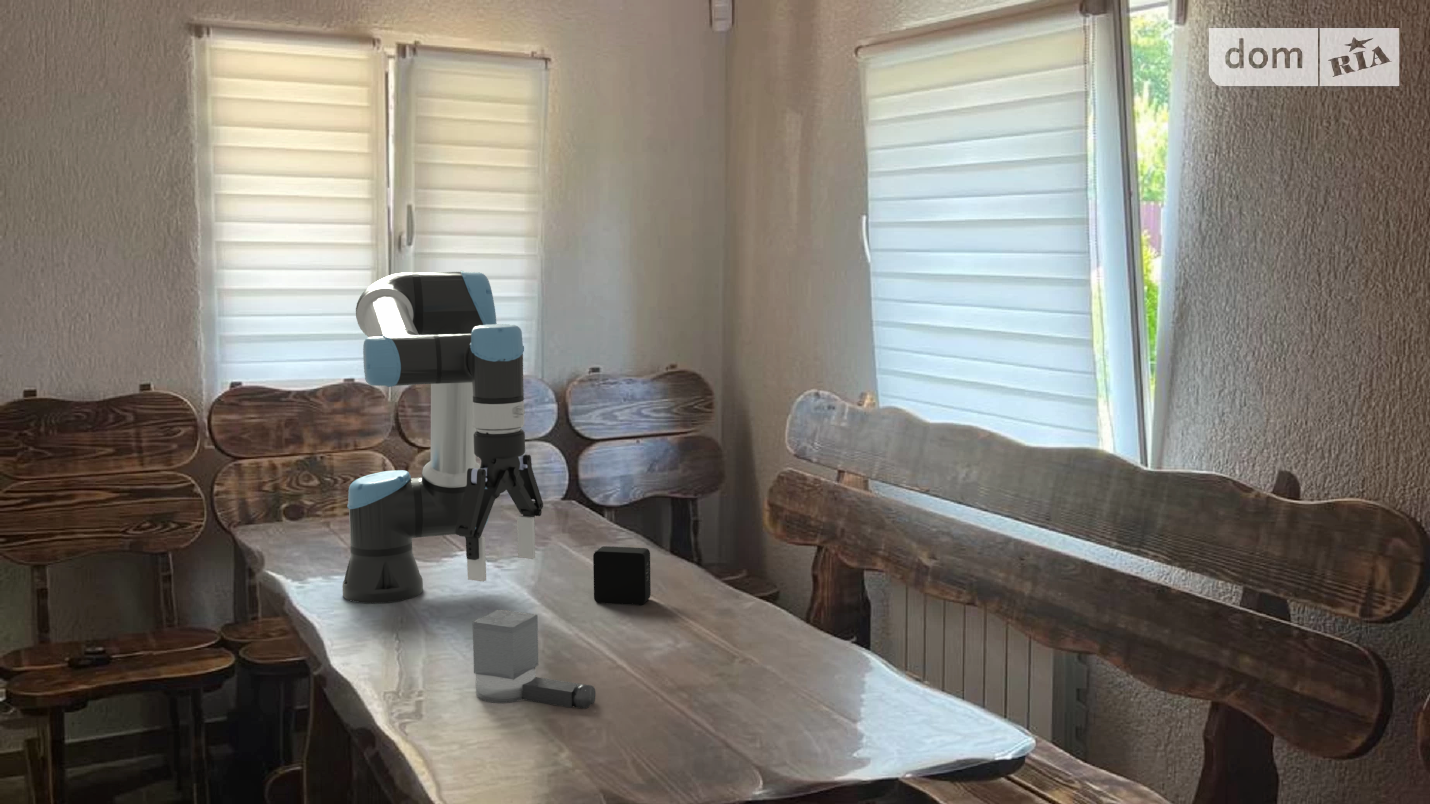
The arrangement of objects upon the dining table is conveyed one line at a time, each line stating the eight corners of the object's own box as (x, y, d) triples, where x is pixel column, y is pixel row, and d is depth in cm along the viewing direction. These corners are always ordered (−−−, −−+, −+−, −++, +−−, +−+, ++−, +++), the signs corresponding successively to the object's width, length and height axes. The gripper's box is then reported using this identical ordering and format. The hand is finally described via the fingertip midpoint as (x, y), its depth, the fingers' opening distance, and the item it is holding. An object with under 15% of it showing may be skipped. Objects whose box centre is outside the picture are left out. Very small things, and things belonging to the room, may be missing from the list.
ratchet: (464, 701, 197) (462, 639, 195) (497, 682, 205) (495, 623, 203) (574, 719, 189) (573, 655, 188) (604, 699, 197) (603, 637, 196)
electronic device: (645, 605, 244) (644, 553, 243) (593, 602, 246) (592, 551, 245) (650, 599, 248) (650, 548, 247) (600, 596, 250) (599, 545, 249)
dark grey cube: (513, 679, 194) (512, 627, 193) (474, 673, 197) (472, 621, 196) (538, 665, 200) (537, 614, 199) (499, 659, 203) (498, 609, 202)
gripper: (472, 444, 181) (476, 593, 184) (563, 418, 203) (566, 551, 206) (427, 440, 184) (432, 587, 187) (522, 416, 206) (525, 546, 209)
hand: (502, 568), depth 196 cm, fingers open, 13 cm apart
